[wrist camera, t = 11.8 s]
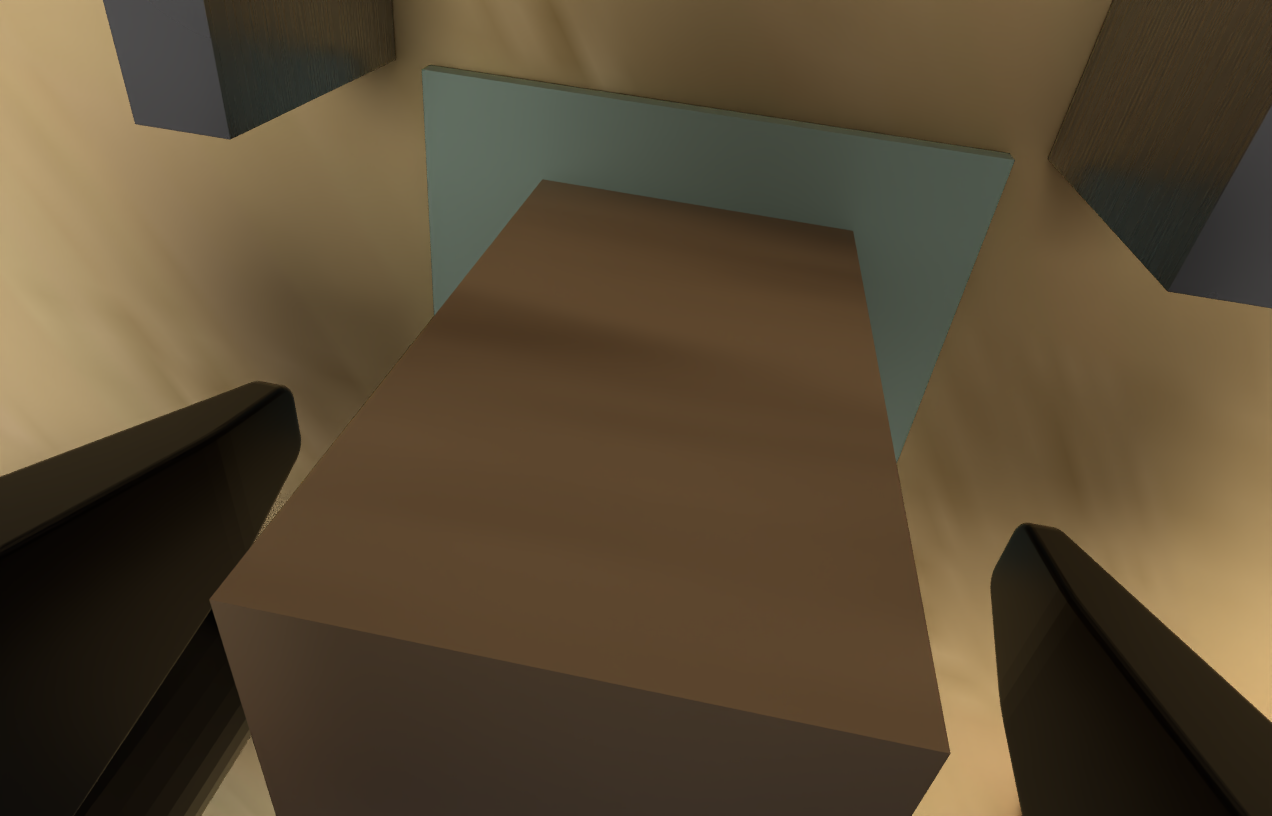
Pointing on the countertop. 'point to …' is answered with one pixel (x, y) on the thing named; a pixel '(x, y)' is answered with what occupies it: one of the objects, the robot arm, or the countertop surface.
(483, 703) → the walnut block
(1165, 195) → the bent rails
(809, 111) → the countertop surface
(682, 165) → the mat
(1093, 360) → the countertop surface
